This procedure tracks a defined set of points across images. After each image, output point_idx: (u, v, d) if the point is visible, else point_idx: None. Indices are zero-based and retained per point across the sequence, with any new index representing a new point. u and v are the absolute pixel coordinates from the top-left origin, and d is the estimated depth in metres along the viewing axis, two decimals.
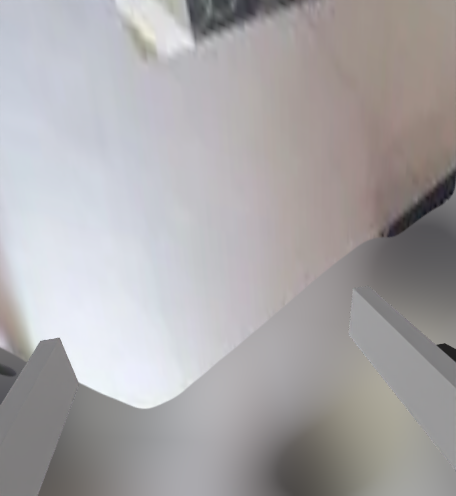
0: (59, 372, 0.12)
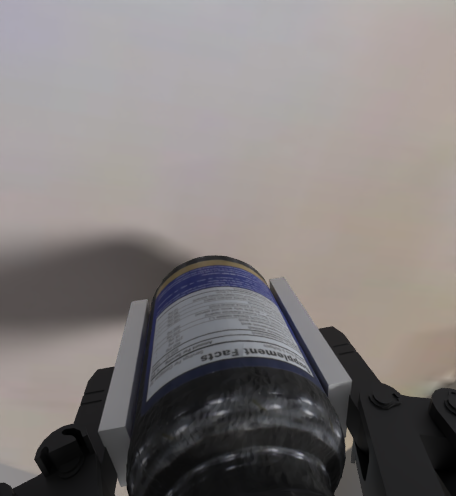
0: None
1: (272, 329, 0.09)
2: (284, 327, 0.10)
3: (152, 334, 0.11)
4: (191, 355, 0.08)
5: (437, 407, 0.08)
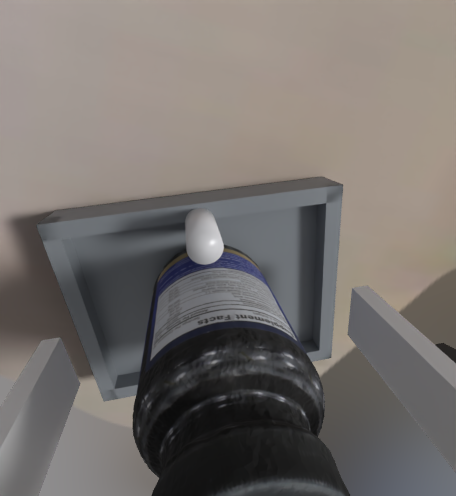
0: (60, 371, 0.12)
1: (262, 302, 0.11)
2: (273, 302, 0.11)
3: (155, 310, 0.12)
4: (189, 321, 0.09)
5: None
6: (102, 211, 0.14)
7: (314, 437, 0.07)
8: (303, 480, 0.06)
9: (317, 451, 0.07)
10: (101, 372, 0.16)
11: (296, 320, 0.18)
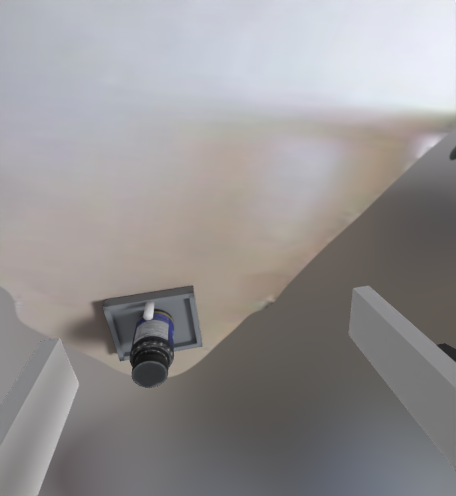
0: (59, 372, 0.12)
1: (161, 330, 0.43)
2: (166, 330, 0.44)
3: (135, 332, 0.44)
4: (142, 335, 0.42)
5: None
6: (120, 301, 0.46)
7: (161, 357, 0.39)
8: (155, 361, 0.38)
9: (160, 359, 0.39)
10: (119, 350, 0.49)
11: (189, 332, 0.51)
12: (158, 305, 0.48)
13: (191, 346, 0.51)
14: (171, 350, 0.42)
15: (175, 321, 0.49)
